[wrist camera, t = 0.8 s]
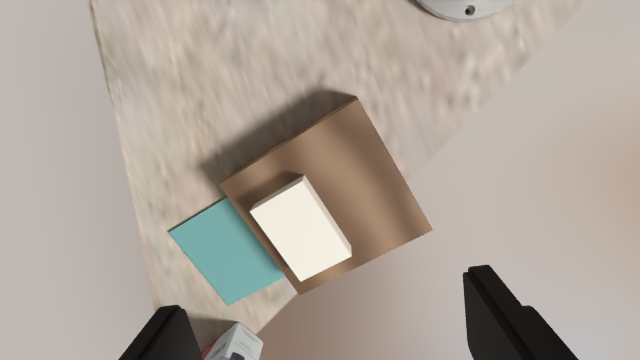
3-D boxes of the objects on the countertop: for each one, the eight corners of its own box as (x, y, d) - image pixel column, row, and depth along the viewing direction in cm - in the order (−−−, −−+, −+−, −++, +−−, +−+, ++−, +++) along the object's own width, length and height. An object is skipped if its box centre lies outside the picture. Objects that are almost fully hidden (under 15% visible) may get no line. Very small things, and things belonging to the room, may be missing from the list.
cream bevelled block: (304, 174, 31) (302, 181, 30) (351, 245, 34) (351, 256, 32) (254, 203, 33) (249, 211, 31) (302, 270, 35) (300, 281, 33)
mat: (239, 189, 37) (238, 190, 36) (297, 269, 39) (296, 270, 39) (169, 231, 39) (168, 232, 39) (228, 304, 42) (228, 305, 41)
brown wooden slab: (356, 96, 33) (358, 99, 29) (423, 213, 36) (432, 230, 32) (231, 173, 36) (218, 185, 32) (303, 274, 40) (299, 295, 36)
